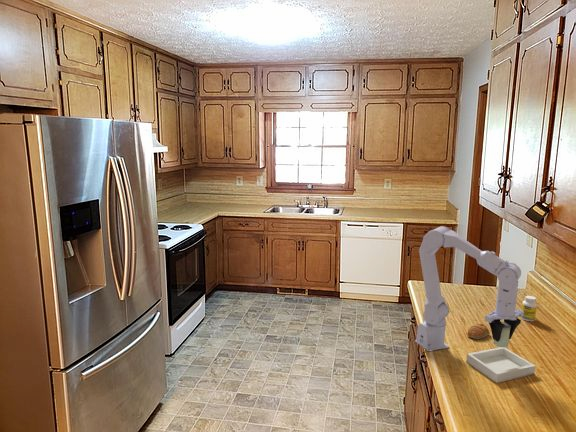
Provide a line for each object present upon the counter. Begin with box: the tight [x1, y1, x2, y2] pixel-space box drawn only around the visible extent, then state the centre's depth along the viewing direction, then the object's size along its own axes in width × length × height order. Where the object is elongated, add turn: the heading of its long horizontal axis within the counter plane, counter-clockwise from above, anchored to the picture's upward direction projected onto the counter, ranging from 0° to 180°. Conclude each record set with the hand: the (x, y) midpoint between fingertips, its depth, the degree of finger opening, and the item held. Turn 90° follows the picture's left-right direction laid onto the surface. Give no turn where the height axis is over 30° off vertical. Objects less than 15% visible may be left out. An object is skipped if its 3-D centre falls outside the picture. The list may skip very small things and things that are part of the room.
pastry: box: [467, 322, 491, 340], centre depth 162 cm, size 9×7×4 cm
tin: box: [493, 321, 511, 348], centre depth 138 cm, size 5×5×7 cm
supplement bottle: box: [520, 295, 538, 322], centre depth 176 cm, size 5×5×10 cm
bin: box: [465, 347, 536, 384], centre depth 139 cm, size 16×13×3 cm
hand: (501, 338), depth 138 cm, fingers closed on tin, 4 cm apart
